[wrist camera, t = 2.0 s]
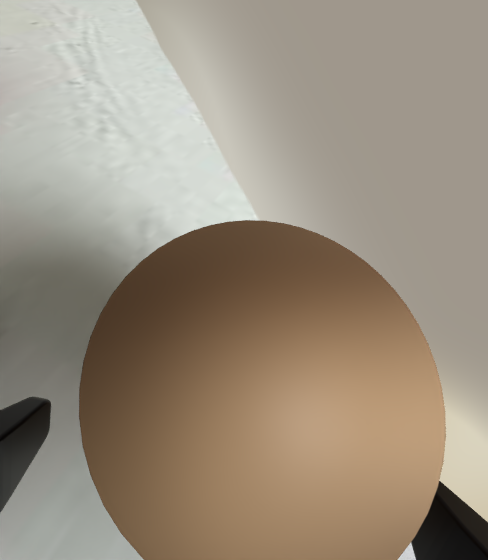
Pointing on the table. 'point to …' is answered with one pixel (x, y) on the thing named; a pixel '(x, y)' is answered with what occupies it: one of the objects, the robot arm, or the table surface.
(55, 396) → the table surface
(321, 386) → the walnut pin
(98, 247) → the table surface
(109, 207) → the table surface
